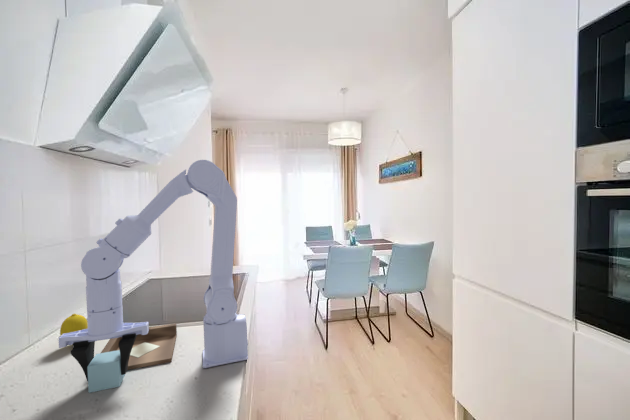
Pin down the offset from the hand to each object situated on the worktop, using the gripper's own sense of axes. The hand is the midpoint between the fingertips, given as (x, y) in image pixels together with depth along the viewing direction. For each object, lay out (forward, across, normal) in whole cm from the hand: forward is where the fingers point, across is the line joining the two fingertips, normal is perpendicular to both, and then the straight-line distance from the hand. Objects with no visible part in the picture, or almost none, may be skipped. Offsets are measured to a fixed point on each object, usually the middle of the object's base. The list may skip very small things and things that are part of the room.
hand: (108, 375), depth 59 cm
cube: (+1, 0, 0) cm, 1 cm away
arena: (+1, -4, -10) cm, 11 cm away
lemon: (+2, +12, -22) cm, 25 cm away
